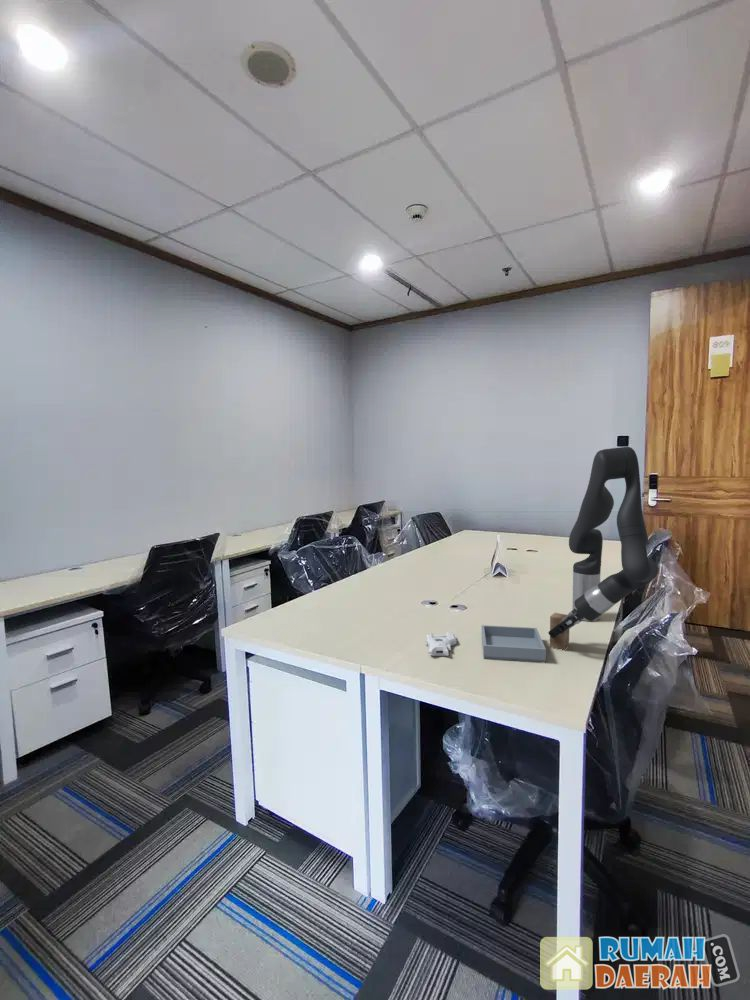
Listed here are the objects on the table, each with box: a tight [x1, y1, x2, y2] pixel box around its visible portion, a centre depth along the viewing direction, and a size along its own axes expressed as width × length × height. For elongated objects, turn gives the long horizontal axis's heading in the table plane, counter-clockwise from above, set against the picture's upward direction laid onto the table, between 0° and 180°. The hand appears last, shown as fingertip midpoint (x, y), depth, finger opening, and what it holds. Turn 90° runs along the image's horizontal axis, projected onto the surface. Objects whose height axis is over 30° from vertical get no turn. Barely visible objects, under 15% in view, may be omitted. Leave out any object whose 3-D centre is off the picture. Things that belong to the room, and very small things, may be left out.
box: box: [481, 624, 547, 663], centre depth 143 cm, size 18×18×4 cm
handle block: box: [549, 612, 570, 651], centre depth 144 cm, size 4×4×10 cm
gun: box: [425, 631, 458, 657], centre depth 146 cm, size 18×4×10 cm
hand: (553, 632), depth 145 cm, fingers closed on handle block, 4 cm apart
